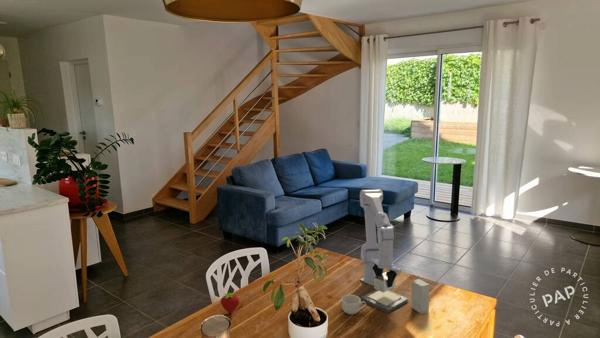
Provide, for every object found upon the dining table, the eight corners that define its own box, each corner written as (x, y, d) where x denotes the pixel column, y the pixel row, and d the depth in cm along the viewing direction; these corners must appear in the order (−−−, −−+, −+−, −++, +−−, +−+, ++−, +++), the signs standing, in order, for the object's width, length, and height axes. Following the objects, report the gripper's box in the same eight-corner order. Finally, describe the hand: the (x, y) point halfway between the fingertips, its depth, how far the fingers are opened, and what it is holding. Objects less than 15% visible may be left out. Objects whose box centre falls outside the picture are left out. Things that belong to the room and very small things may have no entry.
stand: (381, 290, 176) (381, 285, 176) (407, 301, 166) (407, 297, 165) (361, 300, 167) (361, 295, 167) (387, 313, 157) (387, 308, 156)
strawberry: (237, 318, 154) (236, 294, 153) (219, 317, 155) (218, 293, 154) (241, 310, 160) (240, 287, 159) (223, 309, 161) (222, 286, 159)
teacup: (342, 316, 155) (342, 304, 154) (340, 306, 162) (340, 294, 161) (367, 316, 155) (367, 304, 154) (364, 306, 162) (364, 294, 161)
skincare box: (429, 312, 157) (430, 284, 155) (420, 314, 156) (422, 286, 153) (418, 305, 163) (419, 278, 161) (410, 307, 161) (411, 280, 159)
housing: (373, 288, 165) (374, 276, 164) (385, 282, 170) (386, 270, 169) (383, 292, 161) (383, 280, 160) (395, 286, 166) (395, 274, 165)
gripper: (366, 251, 166) (365, 281, 168) (394, 261, 155) (393, 293, 157) (376, 247, 170) (375, 276, 173) (404, 257, 159) (403, 288, 162)
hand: (384, 284), depth 165 cm, fingers closed on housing, 5 cm apart
